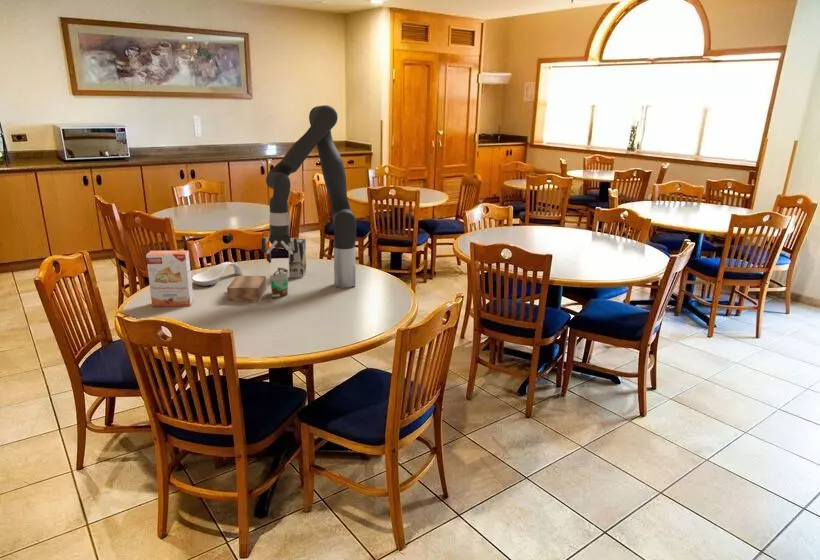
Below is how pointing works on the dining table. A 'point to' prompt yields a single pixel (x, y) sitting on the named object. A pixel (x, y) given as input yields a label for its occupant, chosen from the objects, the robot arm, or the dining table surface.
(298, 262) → the coffee box
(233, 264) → the spoon rest
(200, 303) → the dining table surface
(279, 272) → the food container
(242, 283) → the walnut block
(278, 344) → the dining table surface
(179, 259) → the cracker box
